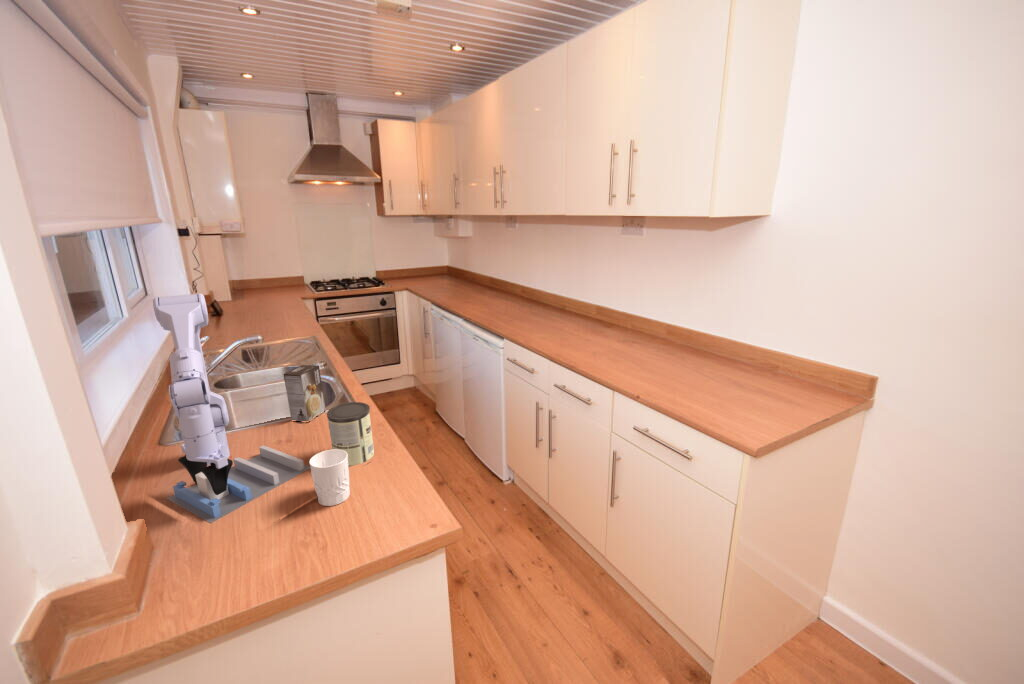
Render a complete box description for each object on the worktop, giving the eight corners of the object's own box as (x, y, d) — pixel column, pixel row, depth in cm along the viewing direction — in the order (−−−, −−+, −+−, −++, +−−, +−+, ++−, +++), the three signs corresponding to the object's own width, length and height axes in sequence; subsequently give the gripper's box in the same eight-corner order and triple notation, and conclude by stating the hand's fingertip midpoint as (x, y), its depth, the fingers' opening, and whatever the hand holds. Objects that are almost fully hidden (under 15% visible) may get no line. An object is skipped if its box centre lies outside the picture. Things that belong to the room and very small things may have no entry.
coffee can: (334, 453, 120) (327, 405, 116) (374, 446, 123) (369, 399, 119) (332, 473, 110) (325, 421, 107) (375, 465, 114) (369, 414, 110)
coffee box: (309, 410, 148) (302, 364, 144) (326, 411, 147) (320, 365, 142) (290, 421, 139) (282, 373, 135) (308, 423, 138) (301, 374, 134)
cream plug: (200, 498, 99) (195, 474, 98) (219, 489, 103) (214, 466, 101) (210, 503, 97) (205, 479, 96) (229, 494, 101) (224, 470, 99)
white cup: (343, 483, 106) (338, 445, 103) (358, 497, 101) (353, 457, 98) (309, 497, 101) (303, 458, 98) (323, 513, 95) (317, 471, 93)
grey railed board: (167, 502, 100) (163, 486, 99) (268, 453, 120) (265, 440, 119) (211, 527, 91) (207, 510, 90) (312, 470, 112) (310, 456, 110)
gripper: (237, 431, 95) (248, 487, 99) (200, 418, 102) (212, 470, 106) (202, 446, 90) (215, 504, 93) (165, 431, 96) (179, 485, 100)
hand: (211, 487), depth 99 cm, fingers open, 7 cm apart
